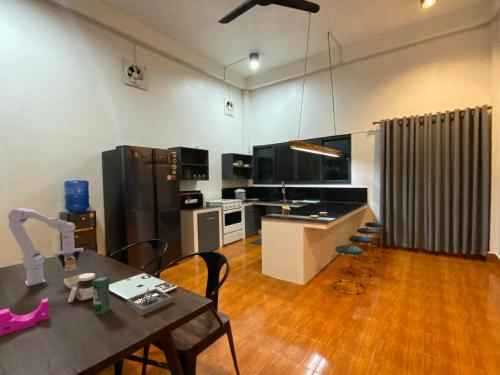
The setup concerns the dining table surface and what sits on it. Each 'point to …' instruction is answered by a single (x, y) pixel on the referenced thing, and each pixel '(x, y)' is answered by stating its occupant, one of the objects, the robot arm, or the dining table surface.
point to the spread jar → (83, 288)
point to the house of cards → (150, 300)
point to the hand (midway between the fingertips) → (69, 265)
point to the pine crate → (70, 263)
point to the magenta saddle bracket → (22, 318)
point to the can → (101, 295)
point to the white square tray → (72, 281)
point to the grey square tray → (146, 309)
